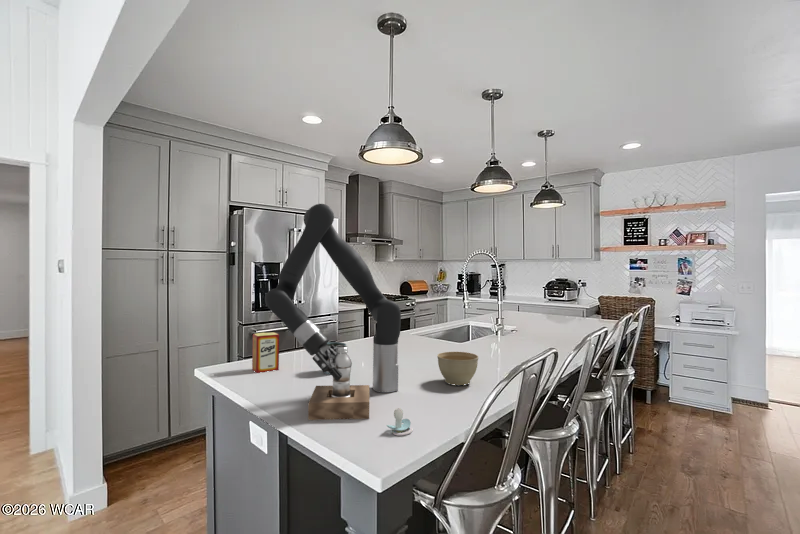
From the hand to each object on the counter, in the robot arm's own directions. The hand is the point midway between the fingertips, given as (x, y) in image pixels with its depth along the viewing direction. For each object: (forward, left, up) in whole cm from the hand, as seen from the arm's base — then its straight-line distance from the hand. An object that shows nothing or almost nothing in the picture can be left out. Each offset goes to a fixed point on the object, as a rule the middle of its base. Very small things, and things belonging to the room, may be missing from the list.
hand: (344, 375), depth 125 cm
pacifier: (-17, +18, -11) cm, 27 cm away
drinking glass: (+7, -45, -11) cm, 47 cm away
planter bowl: (-43, -27, -11) cm, 52 cm away
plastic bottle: (+1, 0, -11) cm, 11 cm away
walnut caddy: (+1, 0, -11) cm, 11 cm away
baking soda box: (+37, -49, -11) cm, 63 cm away
